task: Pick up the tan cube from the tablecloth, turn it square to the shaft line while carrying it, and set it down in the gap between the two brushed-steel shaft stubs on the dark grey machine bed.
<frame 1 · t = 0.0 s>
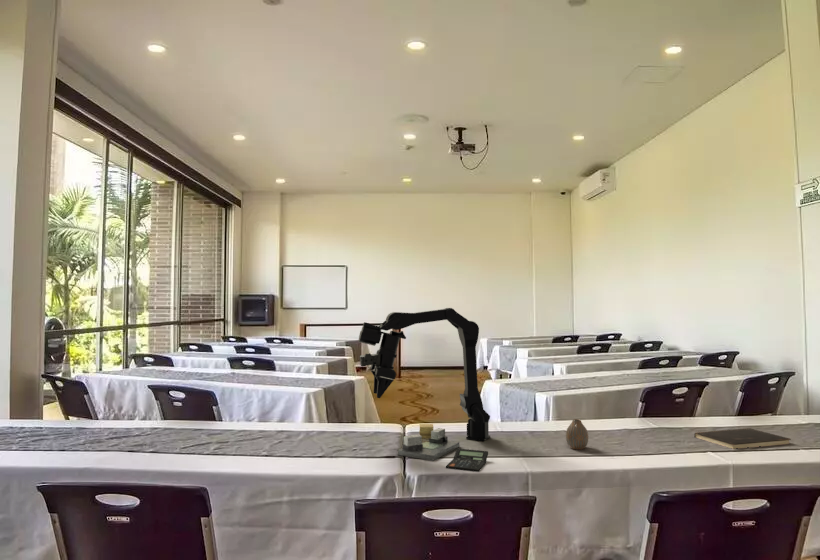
hand: (376, 395, 181), 15 cm above the table, tool pointing down, fingers open, 9 cm apart
calculator: (467, 465, 157), on the table
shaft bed: (429, 450, 171), on the table
tan cube: (426, 440, 184), on the table
hardcover book: (741, 443, 183), on the table
vase: (577, 448, 174), on the table
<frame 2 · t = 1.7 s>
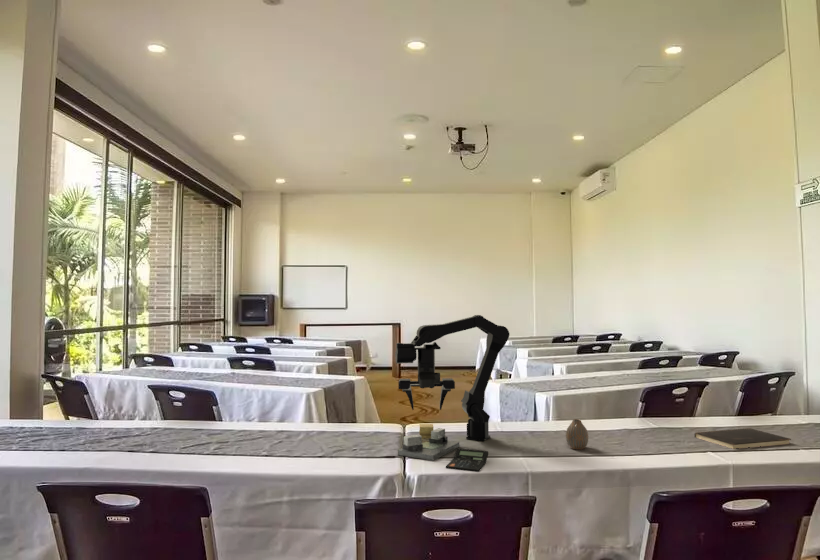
hand: (426, 409, 184), 10 cm above the table, tool pointing down, fingers open, 9 cm apart
nothing on the table moved.
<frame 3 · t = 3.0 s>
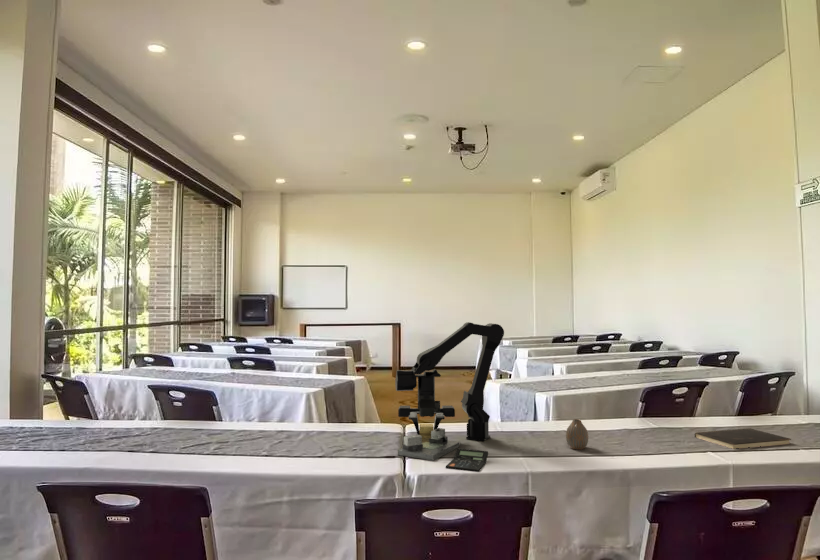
hand: (426, 437, 184), 1 cm above the table, tool pointing down, fingers closed on tan cube, 5 cm apart
tan cube: (426, 440, 184), on the table, touching gripper
everything else where it was.
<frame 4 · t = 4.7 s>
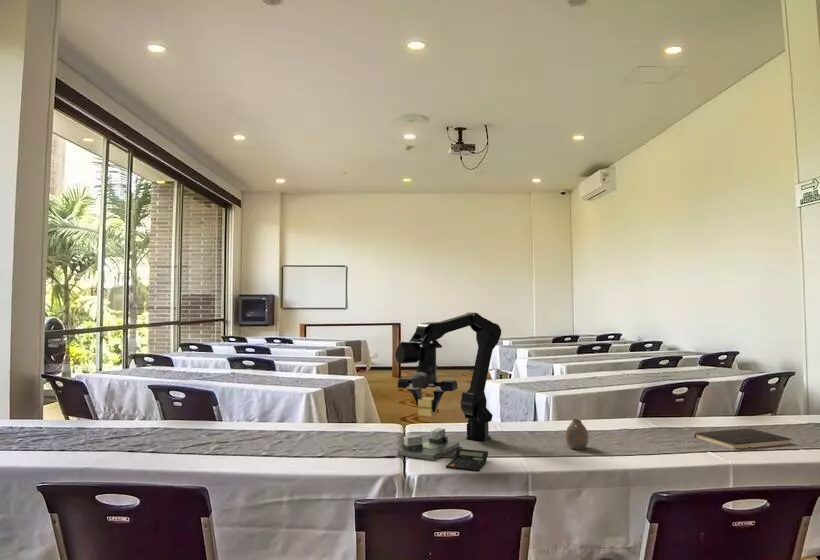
hand: (427, 411, 177), 11 cm above the table, tool pointing down, fingers closed on tan cube, 5 cm apart
tan cube: (427, 414, 177), point 10 cm above the table, touching gripper
everything else where it was.
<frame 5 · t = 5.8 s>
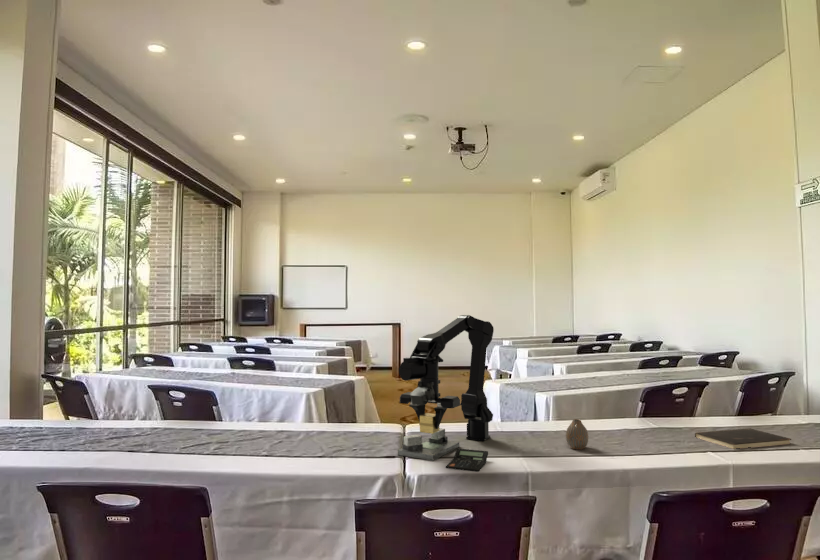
hand: (429, 427, 171), 7 cm above the table, tool pointing down, fingers closed on tan cube, 5 cm apart
tan cube: (429, 431, 171), point 6 cm above the table, touching gripper
everything else where it was.
when the fingers open (4 cm above the table, at t = 6.7 s): tan cube drops 1 cm, resting on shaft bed.
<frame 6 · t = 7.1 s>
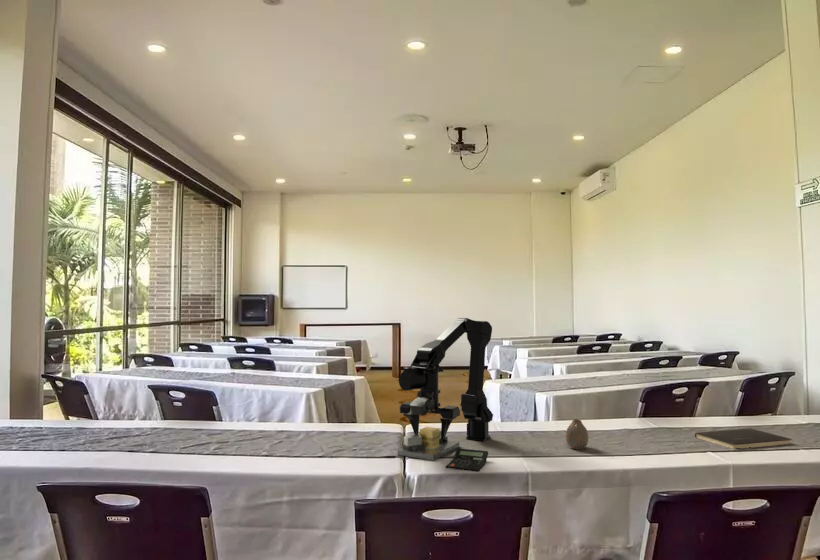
hand: (429, 437, 171), 4 cm above the table, tool pointing down, fingers open, 9 cm apart
tan cube: (429, 445, 171), point 2 cm above the table, touching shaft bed
everything else where it was.
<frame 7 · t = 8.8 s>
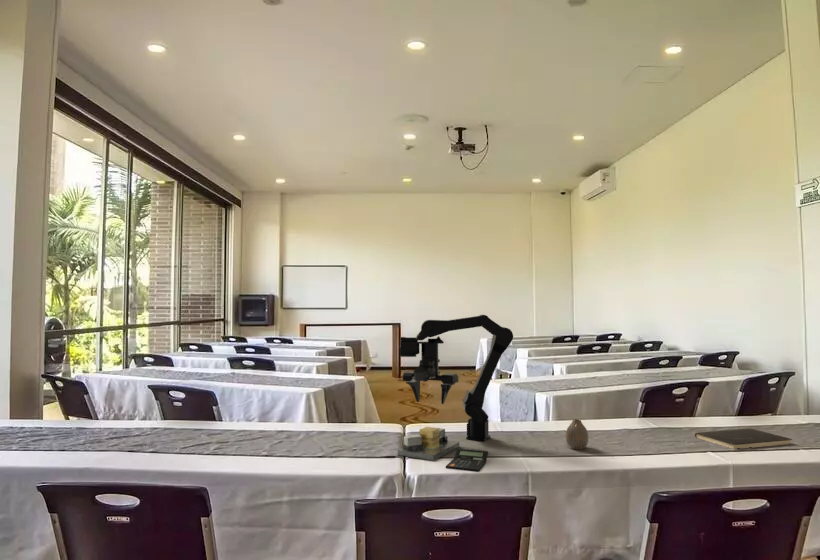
hand: (430, 403, 187), 12 cm above the table, tool pointing down, fingers open, 9 cm apart
nothing on the table moved.
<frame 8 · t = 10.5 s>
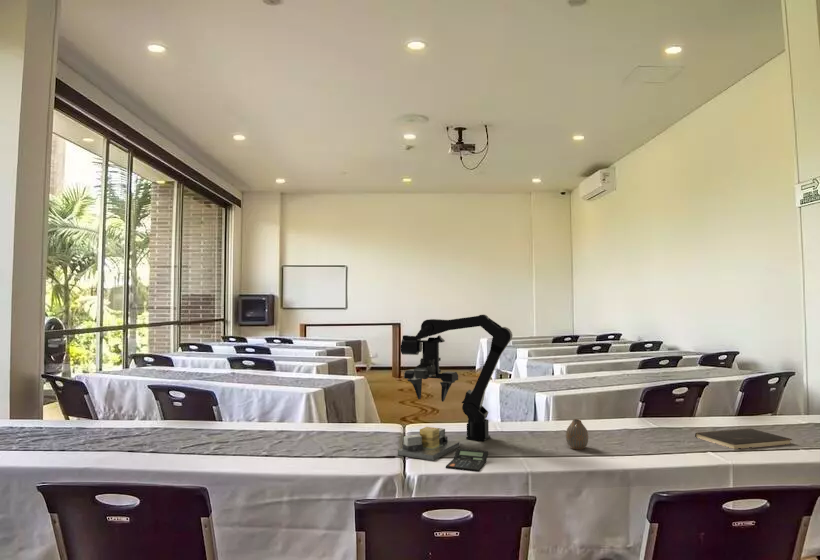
hand: (430, 400, 192), 12 cm above the table, tool pointing down, fingers open, 9 cm apart
nothing on the table moved.
at the end: tan cube 0.1 cm off-centre on the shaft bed, point 1.7 cm above the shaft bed's base; tan cube tilted 0°; the gripper is holding nothing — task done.
